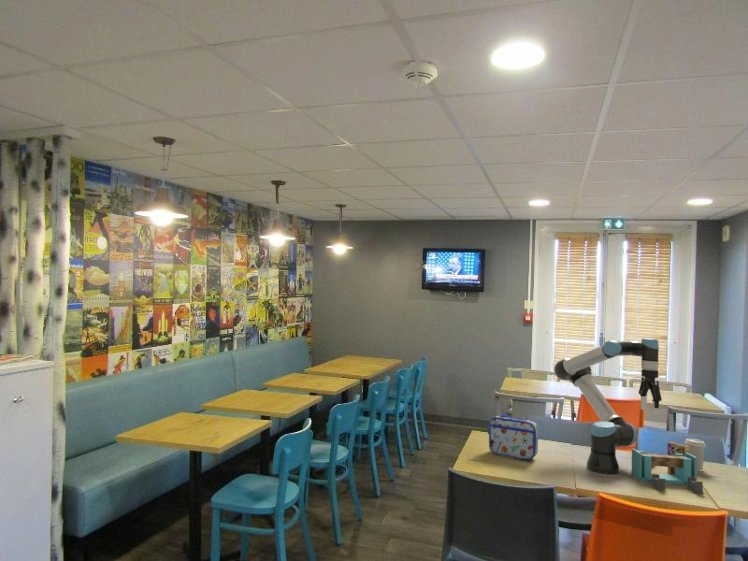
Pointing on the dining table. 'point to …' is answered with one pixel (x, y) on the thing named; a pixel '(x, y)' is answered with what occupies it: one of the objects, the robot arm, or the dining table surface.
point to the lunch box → (513, 437)
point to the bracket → (645, 474)
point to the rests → (692, 484)
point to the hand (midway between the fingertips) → (649, 411)
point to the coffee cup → (696, 450)
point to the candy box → (676, 449)
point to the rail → (665, 460)
